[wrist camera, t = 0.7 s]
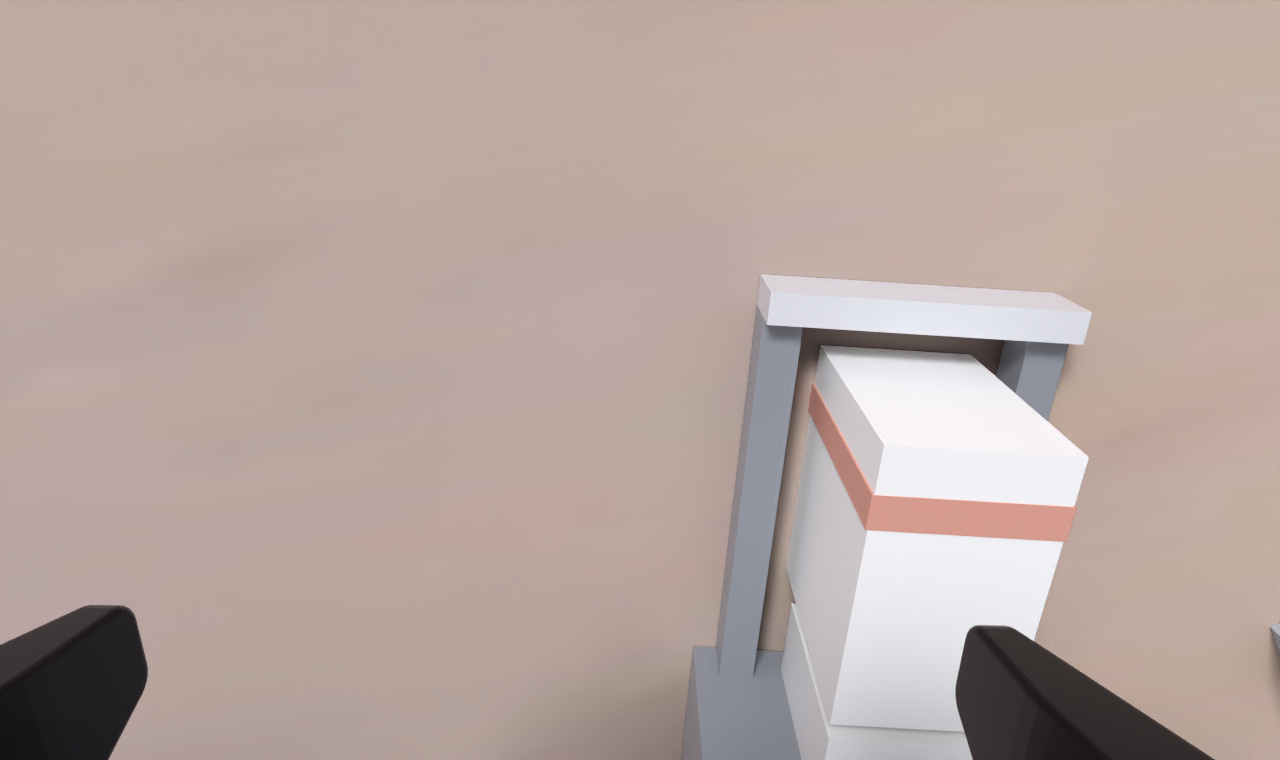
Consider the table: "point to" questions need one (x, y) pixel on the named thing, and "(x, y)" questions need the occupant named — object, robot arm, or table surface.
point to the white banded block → (920, 527)
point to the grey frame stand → (735, 670)
